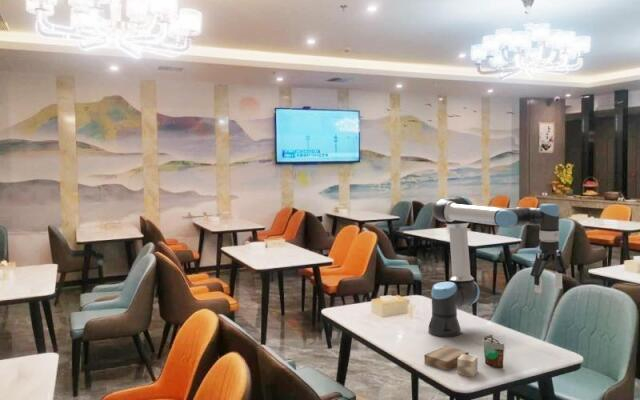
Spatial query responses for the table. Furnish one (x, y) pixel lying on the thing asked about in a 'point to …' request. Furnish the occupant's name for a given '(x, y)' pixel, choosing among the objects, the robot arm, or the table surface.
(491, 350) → the food container
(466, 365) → the cream cube
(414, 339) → the table surface
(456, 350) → the base block
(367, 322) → the table surface
